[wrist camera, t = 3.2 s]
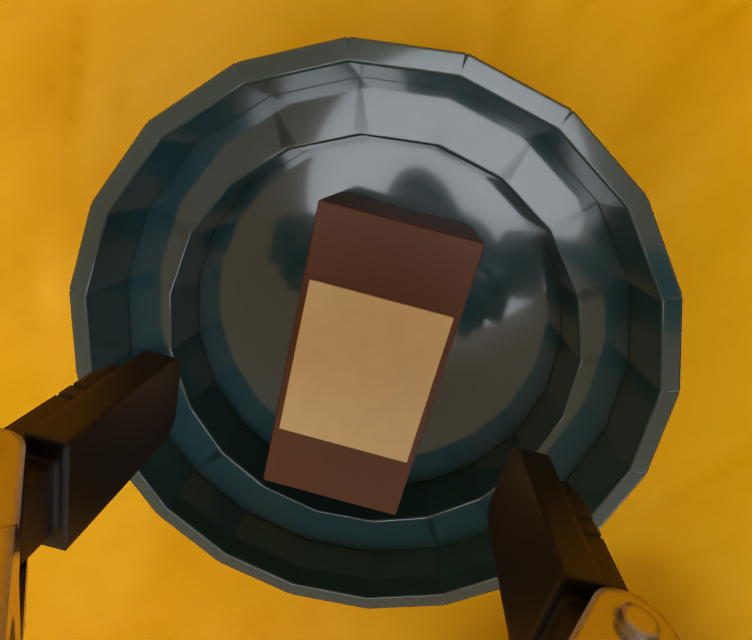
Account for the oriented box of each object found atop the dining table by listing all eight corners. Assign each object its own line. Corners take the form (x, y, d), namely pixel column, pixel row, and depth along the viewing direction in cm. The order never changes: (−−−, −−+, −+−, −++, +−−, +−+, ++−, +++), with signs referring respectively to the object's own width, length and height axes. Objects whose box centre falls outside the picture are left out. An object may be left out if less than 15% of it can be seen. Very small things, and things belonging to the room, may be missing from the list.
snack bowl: (366, -60, 13) (341, -161, 9) (716, 334, 16) (820, 396, 12) (75, 324, 18) (-28, 372, 14) (379, 575, 21) (368, 678, 17)
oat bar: (340, 190, 15) (317, 199, 12) (472, 225, 15) (486, 244, 12) (291, 423, 18) (261, 481, 15) (400, 452, 18) (395, 517, 15)
